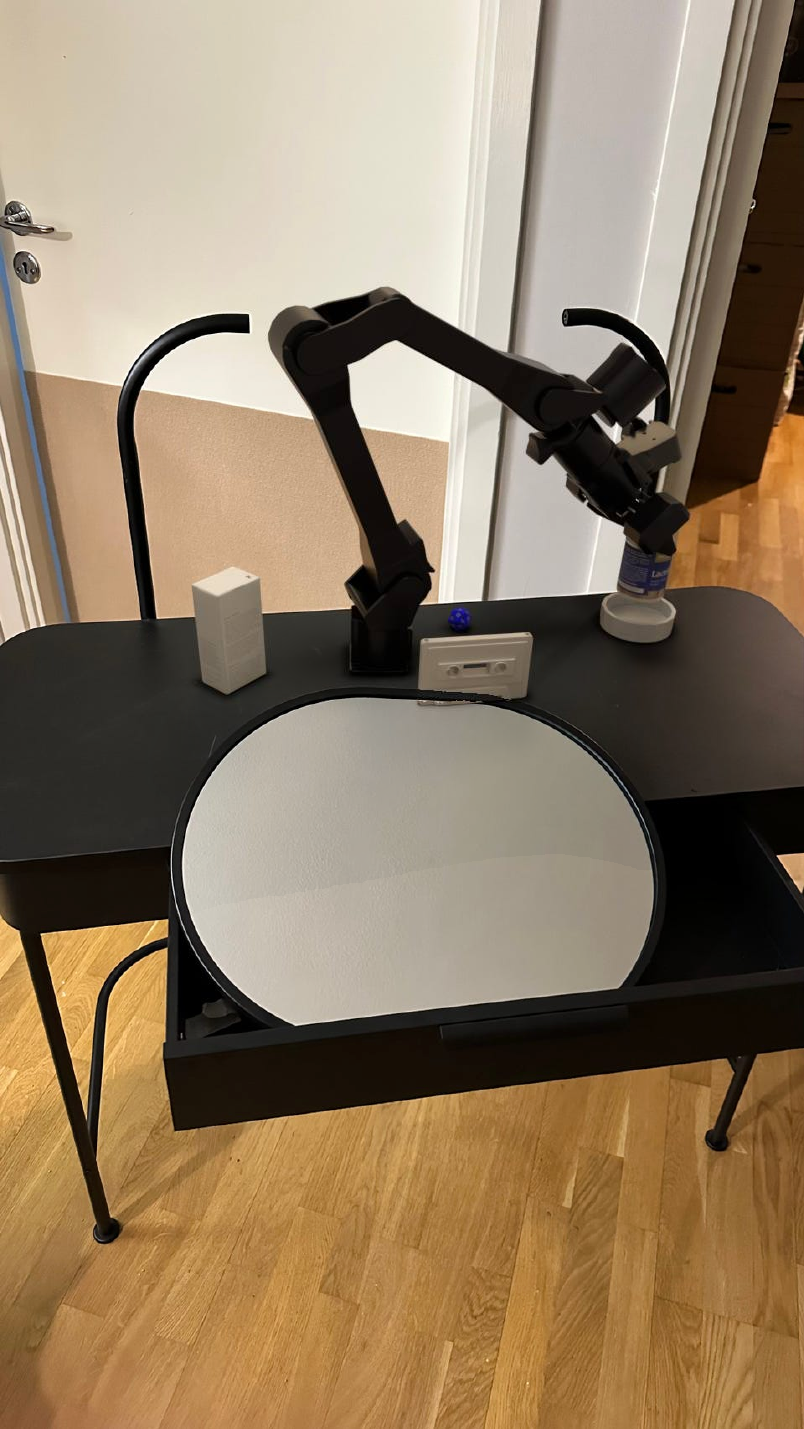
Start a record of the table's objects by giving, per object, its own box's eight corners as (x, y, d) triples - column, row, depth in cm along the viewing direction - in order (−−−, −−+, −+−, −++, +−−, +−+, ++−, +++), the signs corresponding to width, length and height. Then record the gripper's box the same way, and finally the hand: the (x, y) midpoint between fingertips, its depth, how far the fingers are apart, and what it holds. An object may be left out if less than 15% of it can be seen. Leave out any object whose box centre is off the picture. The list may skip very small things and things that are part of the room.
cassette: (523, 690, 108) (530, 629, 104) (527, 700, 106) (535, 638, 102) (416, 698, 106) (418, 636, 102) (419, 708, 104) (422, 645, 100)
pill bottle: (654, 609, 116) (671, 530, 110) (608, 596, 118) (622, 518, 112) (669, 591, 120) (686, 514, 114) (625, 579, 122) (639, 503, 117)
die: (466, 636, 118) (452, 619, 116) (453, 634, 120) (439, 617, 119) (479, 620, 119) (466, 602, 117) (466, 618, 121) (453, 601, 119)
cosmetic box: (240, 661, 111) (233, 564, 104) (267, 674, 109) (261, 576, 102) (199, 682, 107) (189, 583, 101) (226, 696, 105) (218, 596, 98)
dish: (607, 642, 117) (611, 624, 116) (593, 608, 125) (595, 590, 123) (680, 643, 118) (684, 624, 116) (661, 608, 125) (664, 591, 124)
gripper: (692, 428, 97) (759, 524, 107) (604, 378, 112) (670, 465, 121) (609, 510, 100) (682, 596, 109) (533, 450, 114) (603, 530, 123)
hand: (659, 542), depth 116 cm, fingers closed on pill bottle, 6 cm apart
